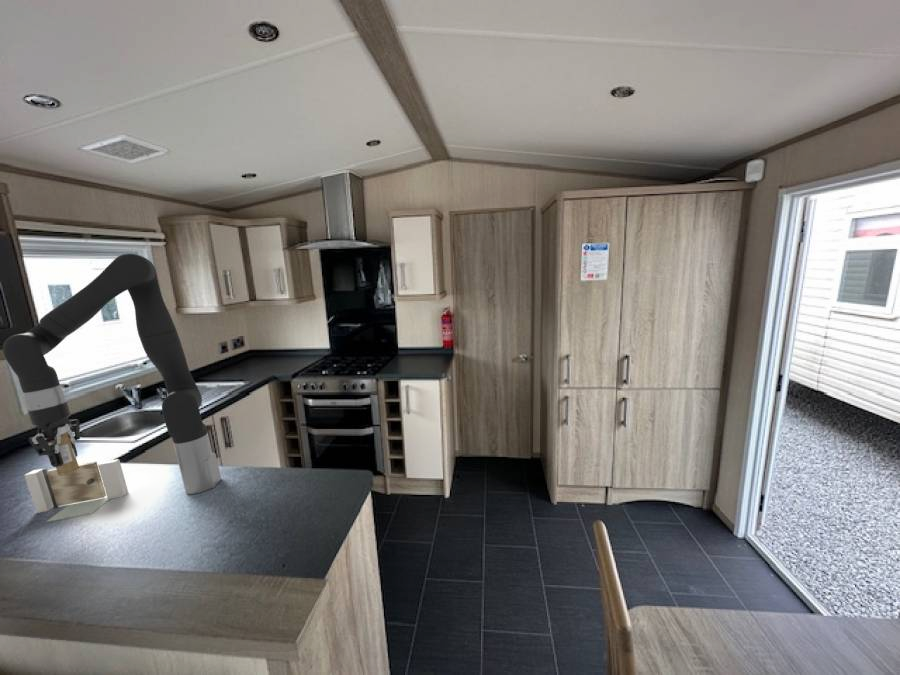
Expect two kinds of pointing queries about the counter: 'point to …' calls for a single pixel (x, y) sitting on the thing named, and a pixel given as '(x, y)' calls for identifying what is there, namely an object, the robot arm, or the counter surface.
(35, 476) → the hinge post
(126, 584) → the counter surface
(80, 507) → the mat
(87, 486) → the door
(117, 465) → the wall
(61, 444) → the sprinkles bottle
